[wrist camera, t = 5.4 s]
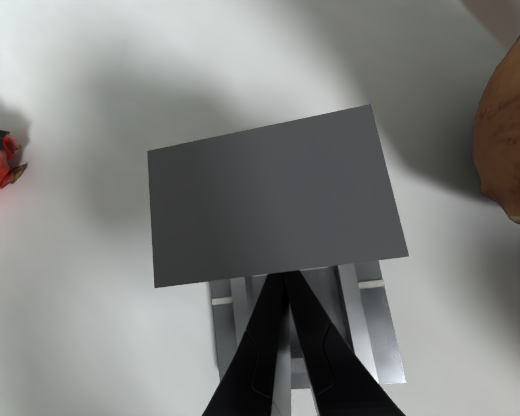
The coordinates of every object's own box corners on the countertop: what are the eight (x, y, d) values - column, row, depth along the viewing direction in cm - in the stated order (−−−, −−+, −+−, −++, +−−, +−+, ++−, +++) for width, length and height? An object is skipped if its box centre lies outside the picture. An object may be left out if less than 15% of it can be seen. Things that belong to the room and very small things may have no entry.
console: (397, 371, 15) (417, 396, 12) (226, 382, 16) (214, 406, 14) (347, 150, 17) (356, 136, 15) (205, 177, 19) (193, 168, 16)
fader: (327, 265, 15) (429, 336, 4) (254, 274, 16) (158, 358, 4) (311, 183, 16) (356, 48, 5) (244, 195, 17) (144, 100, 5)
